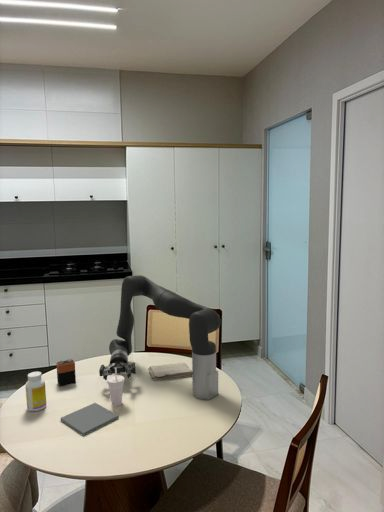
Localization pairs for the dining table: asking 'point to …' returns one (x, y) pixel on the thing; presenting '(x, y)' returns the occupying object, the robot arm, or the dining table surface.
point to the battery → (66, 372)
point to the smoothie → (116, 388)
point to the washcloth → (169, 371)
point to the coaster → (89, 418)
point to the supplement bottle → (35, 392)
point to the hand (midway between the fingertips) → (116, 376)
